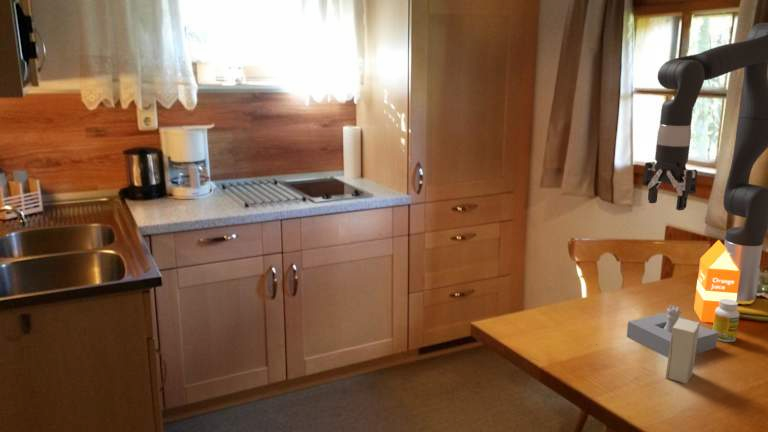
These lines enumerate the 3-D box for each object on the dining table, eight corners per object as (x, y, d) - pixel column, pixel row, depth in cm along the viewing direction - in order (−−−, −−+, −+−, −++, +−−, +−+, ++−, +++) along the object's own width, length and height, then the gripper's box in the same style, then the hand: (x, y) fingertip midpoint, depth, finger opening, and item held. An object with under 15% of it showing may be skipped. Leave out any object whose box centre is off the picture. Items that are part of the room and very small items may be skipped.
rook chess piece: (678, 343, 150) (682, 312, 148) (658, 339, 153) (662, 308, 151) (682, 337, 154) (686, 306, 152) (662, 332, 156) (666, 302, 154)
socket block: (666, 325, 162) (668, 311, 161) (715, 348, 150) (717, 332, 149) (626, 336, 156) (628, 321, 155) (674, 360, 144) (676, 344, 143)
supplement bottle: (718, 331, 159) (724, 295, 157) (740, 339, 155) (745, 302, 152) (706, 336, 156) (711, 300, 154) (728, 344, 152) (733, 307, 150)
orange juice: (724, 311, 171) (734, 240, 166) (733, 324, 163) (744, 250, 158) (693, 308, 173) (702, 238, 168) (700, 321, 165) (710, 248, 160)
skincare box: (672, 367, 141) (678, 316, 138) (693, 373, 139) (700, 321, 136) (665, 378, 136) (671, 326, 133) (687, 384, 134) (694, 332, 131)
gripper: (708, 145, 152) (700, 210, 156) (660, 138, 164) (653, 199, 169) (687, 147, 149) (679, 214, 153) (639, 140, 161) (633, 202, 165)
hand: (665, 206), depth 161 cm, fingers open, 8 cm apart
